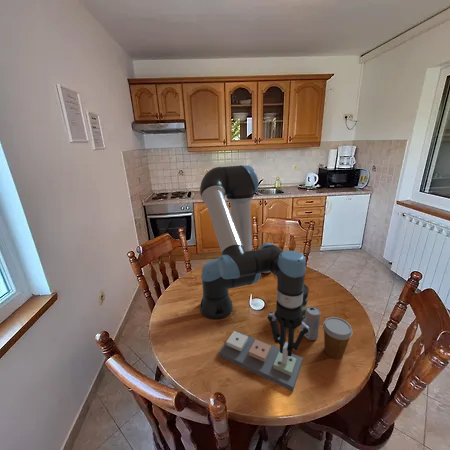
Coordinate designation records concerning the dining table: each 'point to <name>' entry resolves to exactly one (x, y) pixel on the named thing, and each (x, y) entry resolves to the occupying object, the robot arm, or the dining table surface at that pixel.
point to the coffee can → (304, 301)
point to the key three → (282, 367)
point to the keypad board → (262, 363)
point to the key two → (260, 350)
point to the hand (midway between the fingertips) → (285, 360)
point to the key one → (237, 341)
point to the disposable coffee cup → (336, 336)
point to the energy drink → (312, 322)
